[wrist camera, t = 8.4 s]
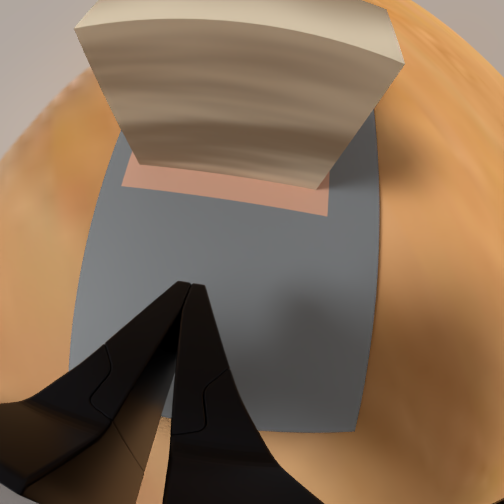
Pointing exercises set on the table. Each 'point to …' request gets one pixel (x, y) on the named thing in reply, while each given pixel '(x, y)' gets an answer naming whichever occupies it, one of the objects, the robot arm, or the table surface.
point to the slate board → (247, 276)
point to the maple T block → (241, 81)
